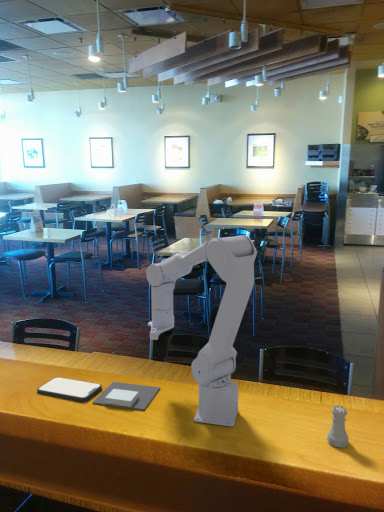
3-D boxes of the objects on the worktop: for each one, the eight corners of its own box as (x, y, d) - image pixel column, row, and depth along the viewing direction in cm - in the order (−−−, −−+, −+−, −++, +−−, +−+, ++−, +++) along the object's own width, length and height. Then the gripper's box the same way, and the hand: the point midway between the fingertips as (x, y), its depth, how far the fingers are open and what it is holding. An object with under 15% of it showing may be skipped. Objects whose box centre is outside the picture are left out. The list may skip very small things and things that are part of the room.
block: (138, 391, 107) (130, 401, 102) (138, 397, 107) (131, 407, 103) (113, 388, 109) (105, 397, 104) (113, 394, 109) (105, 403, 104)
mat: (160, 388, 113) (160, 387, 113) (144, 410, 102) (144, 409, 102) (113, 383, 117) (113, 381, 117) (92, 403, 105) (92, 402, 105)
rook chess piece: (334, 434, 92) (336, 400, 90) (353, 443, 88) (355, 408, 87) (322, 441, 89) (324, 406, 88) (340, 451, 85) (342, 415, 84)
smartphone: (35, 395, 111) (85, 404, 105) (34, 389, 111) (84, 398, 105) (56, 381, 119) (104, 389, 114) (56, 376, 119) (103, 384, 113)
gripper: (157, 299, 117) (158, 345, 119) (138, 314, 104) (139, 365, 106) (181, 301, 116) (181, 347, 118) (164, 316, 102) (165, 368, 104)
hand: (163, 356), depth 111 cm, fingers closed
